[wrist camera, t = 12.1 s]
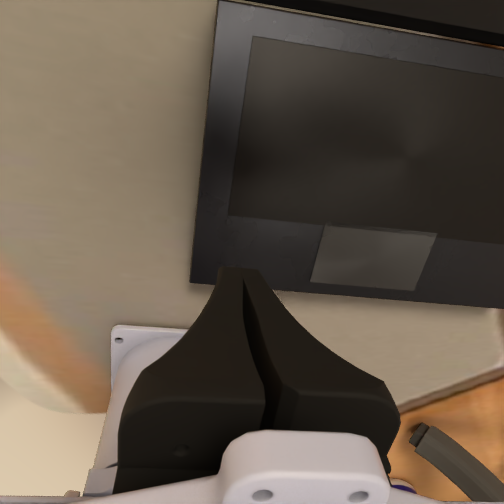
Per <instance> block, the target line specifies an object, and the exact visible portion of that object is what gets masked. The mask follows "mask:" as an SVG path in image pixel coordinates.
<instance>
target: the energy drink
mask: <svg viewBox="0 0 504 504" xmlns="http://www.w3.org/2000/svg"><path fill="white" fill-rule="evenodd" d="M390 481H391V484H392V487H393V488H396V489H400V490H403V491H407V492H410V493H414V494H417V493H416V491H415V489H414V487H413V486H412V485H411V484H409V483H407V482H406V481H404V480H400V479H390Z"/></svg>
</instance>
